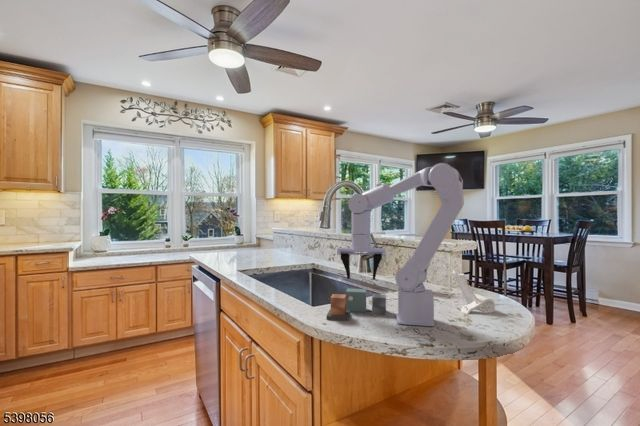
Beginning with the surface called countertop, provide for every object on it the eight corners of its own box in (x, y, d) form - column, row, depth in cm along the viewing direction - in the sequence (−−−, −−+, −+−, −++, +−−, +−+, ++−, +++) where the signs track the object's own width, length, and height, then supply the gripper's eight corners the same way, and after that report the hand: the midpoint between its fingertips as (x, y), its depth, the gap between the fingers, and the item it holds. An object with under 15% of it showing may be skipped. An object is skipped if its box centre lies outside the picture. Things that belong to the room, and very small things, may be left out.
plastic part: (495, 312, 97) (495, 274, 97) (466, 314, 95) (466, 275, 95) (477, 305, 104) (478, 269, 104) (450, 307, 102) (451, 270, 102)
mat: (349, 313, 95) (349, 310, 95) (347, 320, 89) (347, 317, 89) (330, 312, 96) (330, 309, 96) (326, 319, 91) (326, 315, 91)
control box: (366, 307, 101) (366, 289, 101) (365, 312, 96) (365, 292, 96) (347, 306, 102) (347, 288, 102) (345, 311, 97) (345, 292, 97)
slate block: (385, 310, 99) (385, 294, 99) (385, 314, 95) (385, 298, 95) (372, 309, 99) (372, 293, 99) (372, 314, 95) (372, 297, 95)
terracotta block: (346, 311, 94) (346, 294, 94) (344, 315, 91) (344, 298, 90) (332, 310, 95) (332, 293, 95) (330, 314, 91) (330, 297, 91)
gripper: (385, 233, 100) (385, 276, 100) (338, 232, 103) (339, 275, 103) (385, 234, 93) (385, 281, 93) (336, 234, 96) (336, 279, 96)
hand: (361, 278), depth 98 cm, fingers open, 7 cm apart
